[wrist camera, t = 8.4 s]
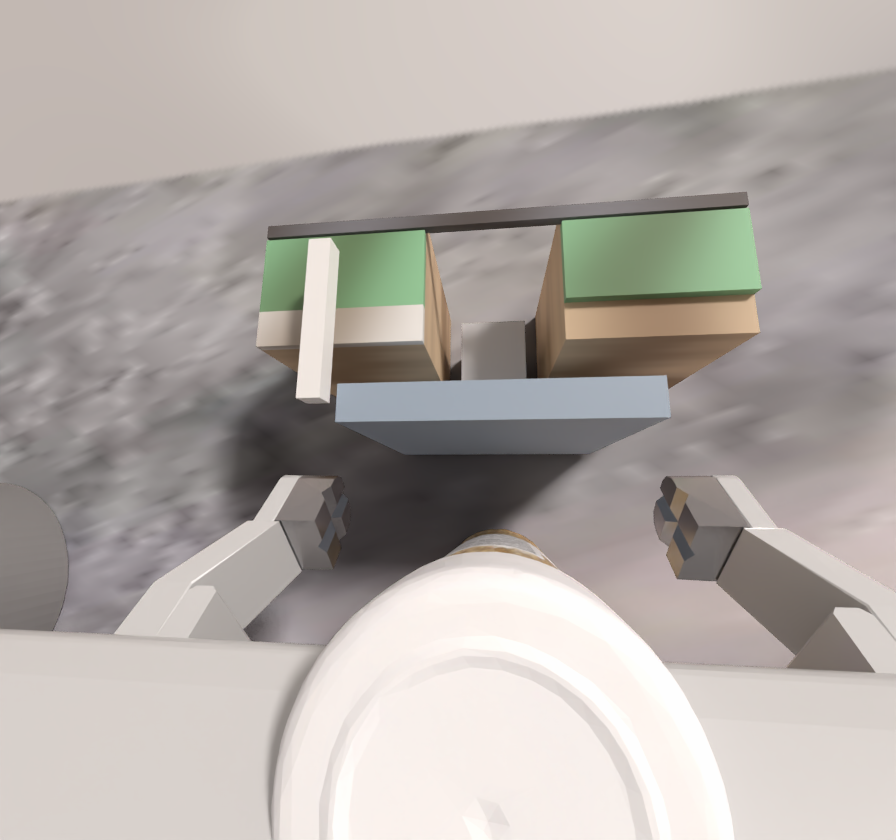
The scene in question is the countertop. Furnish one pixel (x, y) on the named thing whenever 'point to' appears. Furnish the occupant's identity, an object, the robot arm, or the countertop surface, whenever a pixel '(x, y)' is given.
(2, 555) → the coffee mug
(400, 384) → the gauge plunger
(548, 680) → the sprinkles bottle
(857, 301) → the countertop surface
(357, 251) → the tan and green block
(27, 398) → the countertop surface
